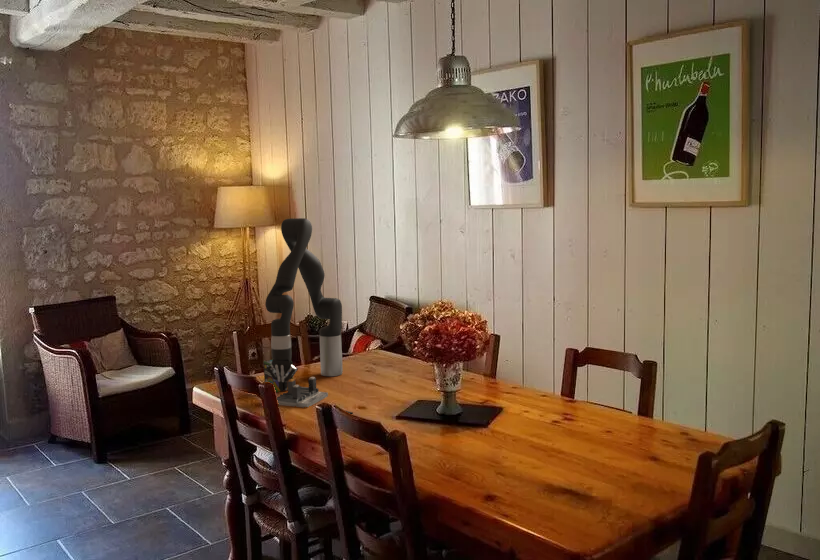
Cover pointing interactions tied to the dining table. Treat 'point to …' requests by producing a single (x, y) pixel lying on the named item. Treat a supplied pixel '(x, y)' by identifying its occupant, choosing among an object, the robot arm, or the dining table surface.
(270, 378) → the chalk box
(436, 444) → the dining table surface
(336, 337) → the robot arm
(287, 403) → the grey pegged base plate
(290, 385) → the breaker
